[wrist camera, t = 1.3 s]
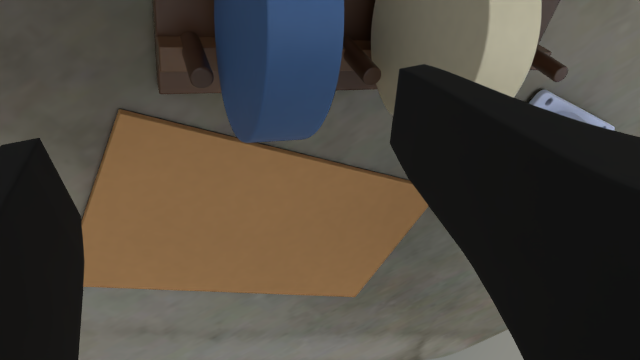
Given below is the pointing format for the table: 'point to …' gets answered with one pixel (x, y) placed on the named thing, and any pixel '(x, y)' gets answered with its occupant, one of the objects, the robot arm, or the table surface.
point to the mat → (235, 215)
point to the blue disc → (278, 65)
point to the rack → (356, 63)
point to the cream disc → (456, 40)
